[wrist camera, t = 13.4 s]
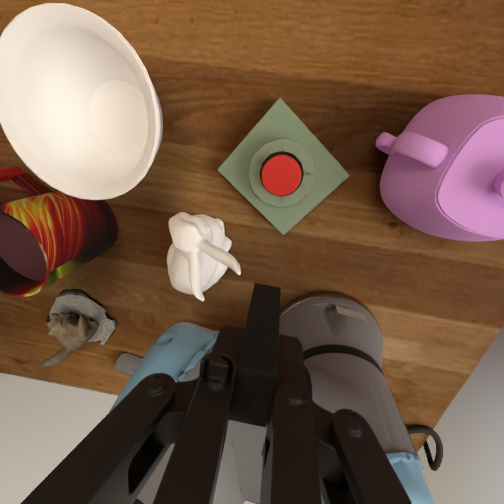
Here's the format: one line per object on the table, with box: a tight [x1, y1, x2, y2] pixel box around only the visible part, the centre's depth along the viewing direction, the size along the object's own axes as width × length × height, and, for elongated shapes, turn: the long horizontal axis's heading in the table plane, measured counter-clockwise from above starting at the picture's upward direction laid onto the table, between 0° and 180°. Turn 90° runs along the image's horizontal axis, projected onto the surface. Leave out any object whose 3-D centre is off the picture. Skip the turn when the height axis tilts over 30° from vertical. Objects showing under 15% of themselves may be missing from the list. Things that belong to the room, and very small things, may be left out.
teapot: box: [376, 94, 504, 241], centre depth 25 cm, size 20×13×12 cm, turn 70°
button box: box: [217, 98, 350, 235], centre depth 31 cm, size 11×10×4 cm
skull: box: [42, 289, 117, 367], centre depth 43 cm, size 10×12×6 cm
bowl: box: [0, 3, 163, 200], centre depth 29 cm, size 16×16×9 cm
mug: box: [0, 167, 118, 297], centre depth 33 cm, size 10×14×12 cm
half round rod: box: [114, 353, 143, 376], centre depth 47 cm, size 4×20×2 cm, turn 70°
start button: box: [262, 154, 301, 196], centre depth 29 cm, size 4×4×2 cm
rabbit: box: [167, 212, 241, 301], centre depth 32 cm, size 12×9×12 cm
